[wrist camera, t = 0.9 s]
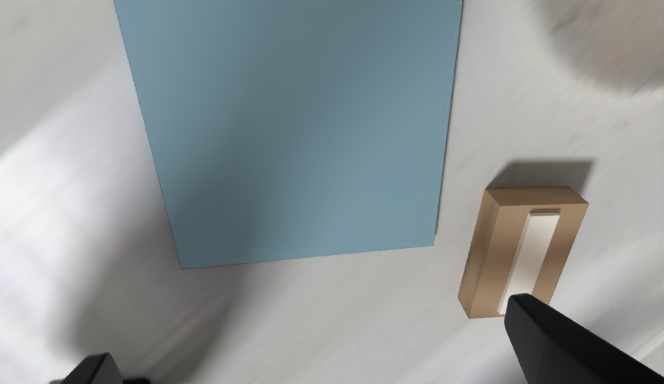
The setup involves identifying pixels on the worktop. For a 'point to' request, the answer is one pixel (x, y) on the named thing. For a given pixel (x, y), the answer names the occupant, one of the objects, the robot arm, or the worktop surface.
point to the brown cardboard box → (519, 246)
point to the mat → (294, 122)
